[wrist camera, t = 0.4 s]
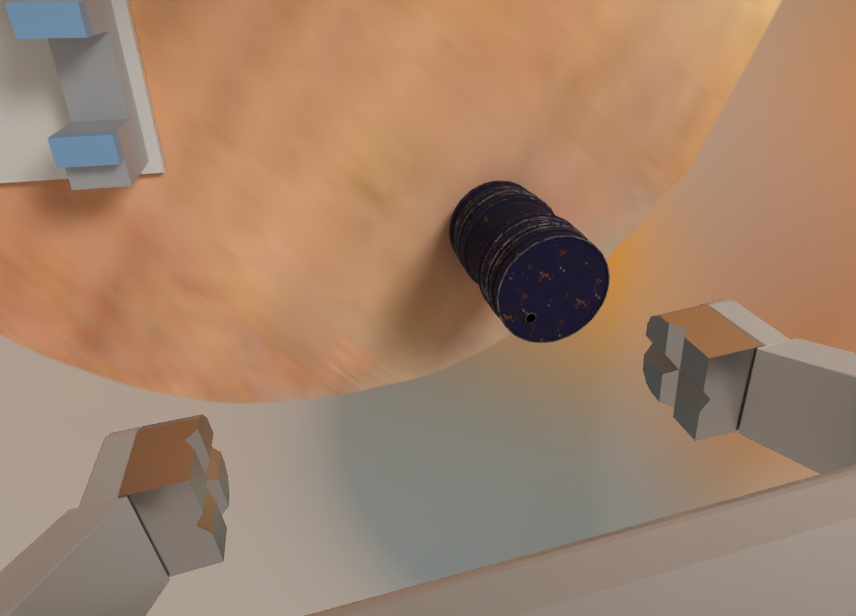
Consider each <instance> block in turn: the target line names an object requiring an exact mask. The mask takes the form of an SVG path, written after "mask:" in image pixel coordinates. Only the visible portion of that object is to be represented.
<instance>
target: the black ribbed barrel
mask: <svg viewBox="0 0 856 616" xmlns="http://www.w3.org/2000/svg"><path fill="white" fill-rule="evenodd" d="M449 235H450V241H451V244H452V247H453V249H454V251H455V253H456V254H457V256H458V258H459V260H460V262H461V264H462V265H463V267H464V268H465V270H466V272H467V273H468V275H469V276H470V277H471V278H472V280H474V281H475V282H476V283H477V284H479V287H480V290H481V293H482V295H483V297H484V298H485V300H486V301H487V302H488V304H489V306H490V307H491V309H492V310H493V311H494V313H495V314H496V315H497V316H498V317H499V318H500V319H501V321H502V322H503V324H504V325H505V327H506V328H507V329H508V330H509V331H510V332H511V333H512V334H514V335H515V336H516V337H518V338H520V339H523V340H525V341H528V342H534V343H548V342H554V341H558V340H561V339H564V338H566V337H569V336H571V335H572V334H574V333H576V332H578V331H579V330H580V329H582V328H583V327H584V326H586V325H587V324H588V323H589V322H590V321H591V320H592V319H593V317H594V316H595V315H596V314H597V313H598V311H599V309H600V308H601V306H602V304H603V302H604V300H605V298H606V295H607V292H608V287H609V269H608V264H607V262H606V259H605V257H604V256H603V254H602V253H601V251H600V250H599V249H598V248H597V247H596V246H595V245H594V244H592V243H591V242H590V241H588V239H587V238H586V237H585V236H584V235H583V234H582V233H581V232H580V231H579V230H577V229H576V228H575V227H574V226H573V225H572V224H571V223H569V222H568V221H566V220H565V219H563V218H560V217H558V216H555V214H554V213H553V211H552V210H551V208H550V207H549V206H548V205H547V204H546V203H545V202H544V201H542V200H541V199H539V198H538V197H537V196H535V195H534V194H532V193H531V192H529V191H527V190H526V189H525V188H523V187H522V186H520V185H518V184H516V183H513V182H509V181H492V182H488V183H484V184H482V185H480V186H478V187H476V188H474V189H473V190H471V191H470V192H469V193H468V194H466V195H465V196H464V197H463V199H462V200H461V201H460V202H459V204H458V205H457V207H456V208H455V210H454V212H453V215H452V218H451V221H450V228H449Z"/></svg>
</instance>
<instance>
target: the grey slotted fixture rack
mask: <svg viewBox="0 0 856 616" xmlns="http://www.w3.org/2000/svg"><path fill="white" fill-rule="evenodd" d="M165 171H166V166H165V162H164V157H163V153H162V148H161V144H160V139H159V135H158V130H157V126H156V121H155V117H154V112H153V108H152V103H151V99H150V94H149V90H148V85H147V81H146V77H145V72H144V68H143V63H142V59H141V54H140V50H139V45H138V41H137V36H136V32H135V27H134V23H133V18H132V14H131V9H130V5H129V0H0V183H12V182H27V181H43V180H58V179H69V183H70V186H71V189H72V190H83V189H97V188H112V187H126V186H132V185H133V183H134V182H135V181H136V179H137V178H138V176H139V175H140V174H150V173H164V172H165Z"/></svg>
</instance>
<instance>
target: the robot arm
mask: <svg viewBox="0 0 856 616" xmlns="http://www.w3.org/2000/svg"><path fill="white" fill-rule="evenodd" d="M646 336H647V337H648V339H649V340H650V341H651V342H652V345H651V346H650V347H649V349H648V350H647V352H646V353H645V354H644V361H643V371H644V376H645V380H646V384H647V385H648V387H649V389H650V391H651V393H652V394H653V395H654V396H655V397H656V399H657V400H658V401H659V402H661V403H664V404H666V405H669V406H672V407H674V413H673V417H674V418H675V419H676V421H677V422H678V423H679V424H680V425H681V426H682V427H683V428H684V429H685V430H686V431H687V433H688V434H689V435H690V436H691V437H692V438H693V439H694V440H700V439H705V438H709V437H714V436H718V435H722V434H727V433H731V432H735V431H739V432H738V433H739V434H741V435H743V436H745V437H747V438H749V439H751V440H753V441H755V442H757V443H759V444H761V445H763V446H765V447H767V448H769V449H771V450H773V451H775V452H777V453H779V454H781V455H783V456H785V457H787V458H789V459H791V460H793V461H795V462H797V463H799V464H801V465H803V466H805V467H807V468H809V469H811V470H813V471H815V472H817V473H819V474H820V475H816V476H812V477H809V478H805V479H802V480H798V481H795V482H791V483H787V484H784V485H780V486H777V487H773V488H769V489H766V490H762V491H758V492H755V493H751V494H747V495H744V496H740V497H736V498H733V499H729V500H725V501H722V502H718V503H714V504H711V505H707V506H703V507H700V508H696V509H693V510H689V511H685V512H682V513H678V514H674V515H670V516H667V517H663V518H659V519H656V520H652V521H648V522H644V523H641V524H637V525H634V526H630V527H626V528H622V529H619V530H615V531H612V532H608V533H604V534H601V535H597V536H593V537H590V538H586V539H582V540H579V541H576V542H572V543H568V544H565V545H561V546H557V547H554V548H550V549H546V550H543V551H539V552H535V553H532V554H528V555H524V556H521V557H517V558H513V559H510V560H506V561H502V562H499V563H495V564H492V565H488V566H484V567H481V568H477V569H473V570H470V571H466V572H462V573H459V574H456V575H452V576H448V577H444V578H441V579H438V580H433V581H430V582H426V583H423V584H419V585H415V586H412V587H408V588H405V589H401V590H397V591H393V592H390V593H386V594H382V595H379V596H375V597H371V598H368V599H364V600H361V601H357V602H353V603H350V604H346V605H342V606H339V607H335V608H332V609H328V610H324V611H321V612H317V613H313V614H310V615H306V616H856V353H852V352H849V351H845V350H841V349H837V348H833V347H829V346H825V345H821V344H818V343H814V342H810V341H806V340H802V339H795V340H790V339H788V338H787V337H786V336H784V335H783V334H781V333H780V332H778V331H777V330H775V329H774V328H772V327H771V326H770V325H768V324H767V323H765V322H764V321H762V320H761V319H759V318H758V317H757V316H755V315H754V314H752V313H751V312H749V311H748V310H747V309H745V308H744V307H742V306H741V305H739V304H738V303H736V302H735V301H733V300H730V299H725V298H724V299H720V300H716V301H712V302H708V303H704V304H700V305H699V306H695V307H690V308H686V309H681V310H677V311H673V312H668V313H664V314H660V315H655V316H652V317H651V318H650V320H649V322H648V324H647V331H646ZM212 439H213V431H212V429H211V426H210V424H209V422H208V419H207V417H205V416H204V415H197V416H192V417H187V418H182V419H177V420H172V421H167V422H162V423H157V424H152V425H147V426H142V427H138V428H133V429H128V430H124V431H119V432H114V433H110V434H109V435H108V436H107V437H105V439H104V441H103V443H102V446H101V449H100V451H99V454H98V457H97V460H96V462H95V465H94V468H93V471H92V473H91V476H90V478H89V481H88V484H87V487H86V489H85V492H84V495H83V497H82V500H81V503H80V506H79V508H75V509H71V510H68V511H67V512H66V513H65V514H64V515H63V516H62V517H60V518H59V519H58V520H57V521H56V522H55V523H54V524H53V525H52V526H51V527H49V528H48V529H47V530H46V531H45V532H44V533H43V534H42V535H41V536H39V537H38V538H37V539H36V540H35V541H34V542H33V543H32V544H31V545H29V546H28V547H27V548H26V549H25V550H24V551H23V552H22V553H21V554H19V555H18V556H17V557H16V558H15V559H14V560H13V561H12V562H11V563H10V564H8V565H7V566H6V567H5V568H4V569H3V570H2V571H1V572H0V616H146V614H147V613H148V611H149V610H150V608H151V607H152V605H153V604H154V602H155V601H156V599H157V598H158V596H159V595H160V593H161V592H162V590H163V589H164V588H165V586H166V585H167V583H168V582H169V580H170V579H169V577H170V576H174V575H177V574H181V573H184V572H188V571H191V570H195V569H198V568H202V567H205V566H209V565H213V564H216V563H220V562H223V561H224V552H225V541H226V530H227V527H226V525H225V522H224V520H223V517H222V514H223V513H224V511H225V510H226V509H227V508H228V506H229V484H228V475H227V471H226V467H225V463H224V460H223V457H222V455H221V452H219V451H218V450H216V449H214V448H213V447H212Z"/></svg>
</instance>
